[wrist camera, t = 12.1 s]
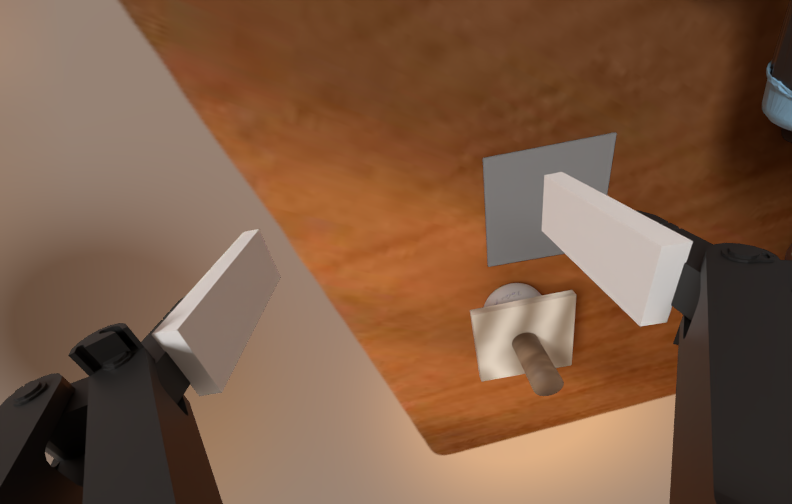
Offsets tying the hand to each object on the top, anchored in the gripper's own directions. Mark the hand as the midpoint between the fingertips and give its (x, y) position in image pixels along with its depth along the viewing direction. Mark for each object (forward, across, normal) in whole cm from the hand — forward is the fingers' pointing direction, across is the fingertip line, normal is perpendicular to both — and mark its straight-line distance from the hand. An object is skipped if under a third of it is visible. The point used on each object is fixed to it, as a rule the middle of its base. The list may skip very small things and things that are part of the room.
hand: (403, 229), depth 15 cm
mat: (+31, +21, -15) cm, 40 cm away
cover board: (+23, +15, -33) cm, 43 cm away
